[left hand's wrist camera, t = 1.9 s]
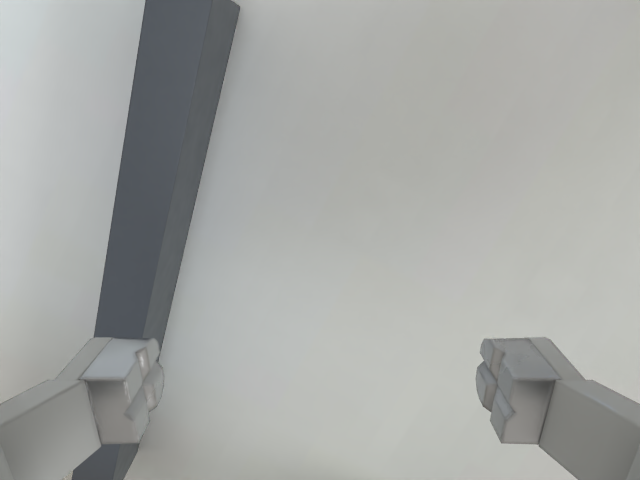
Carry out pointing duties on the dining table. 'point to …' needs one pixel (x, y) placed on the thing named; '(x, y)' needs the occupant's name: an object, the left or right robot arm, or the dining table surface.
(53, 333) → the dining table surface
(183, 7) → the post
